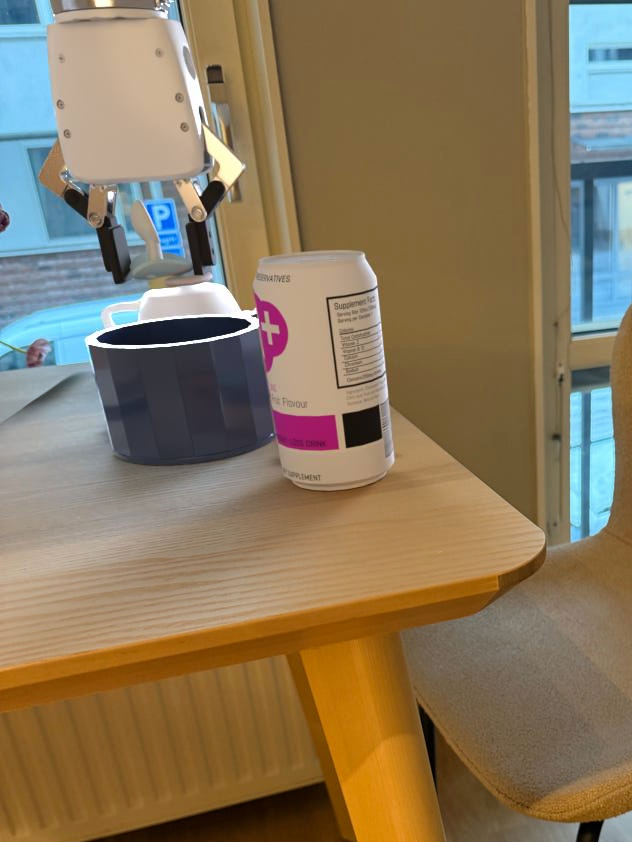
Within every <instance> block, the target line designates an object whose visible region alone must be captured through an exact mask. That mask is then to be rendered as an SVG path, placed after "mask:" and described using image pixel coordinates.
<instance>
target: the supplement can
mask: <svg viewBox="0 0 632 842" xmlns="http://www.w3.org/2000/svg"><path fill="white" fill-rule="evenodd" d="M257 261H258V267H257V271H256V273H255V277H254V280H253V282H252V289H253V290H252V291H253V297H254V303H255V308H256V310H257V316H258V323H259V329H260V335H261V342H262V348H263V354H264V360H265V367H266V373H267V379H268V386H269V392H270V398H271V404H272V411H273V417H274V423H275V429H276V442H277V447H278V453H279V460H280V468H281V471H282V476H283V477H285V478H287V479H289V480H291V482H292V484H293V485H296V486H297V487H299V488H301V489H305V490H311V491H327V492H330V491H331V492H332V491H343V490H344V491H345V490H349V489H350V490H351V489H355V488H360V487H365V486H367V485H370V484H372V483H375V482H377V481H379V480H381V479H382V478H384V477H385V476H386V474H387V472H388V470H389V469H391V468H392V467H393V465H394V463H395V452H394V441H393V432H392V431H393V430H392V422H391V420H392V419H391V411H390V401H389V391H388V382H387V381H388V380H387V371H386V369H387V368H386V360H385V359H386V358H385V351H384V339H383V338H384V337H383V330H382V319H381V308H380V299H379V289H378V278H377V276H376V274H375V272H374V270H373V269H372V267H371V265H370V264H369V262H368V260H367V259H366V254H365V252H363V251H361V250H354V249H353V250H352V249H350V250H349V249H332V250H331V249H329V250H328V249H327V250H311V251H310V250H309V251H300V252H290V253H289V252H288V253H282V254H276V255H275V254H274V255H269V256H265V257H262V258H260V259H258V260H257Z"/></svg>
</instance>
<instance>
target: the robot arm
mask: <svg viewBox="0 0 632 842" xmlns="http://www.w3.org/2000/svg"><path fill="white" fill-rule="evenodd" d="M172 2H175V0H49V3H50V6H51V12H52V16H53V20H54V23H49V24H47V25H46V50H47V61H48V62H47V63H48V73H49V74H48V75H49V83H50V91H51V98H52V106H53V111H54V118H55V123H56V129H57V134H58V135H57V137H56V140H55V141H54V143H53V145H52V147H51V149H50V151H49V152H48V154H47V156H46V159H45V160H44V162H43V164H42V166H41V168H40V170H39V172H38V174H37V180H38V182H39V183H40V184H41V186H43V187H45V188H46V189H48V190H49V191H50V192H51V193H53V194H54V195H56V196H57V197H58V198H60V199H62V200H63V201H64V202H65V203H66V204H67V205H68V206H69V207H70V208H72V209H73V210H74V211H75V212H77V214H79V215H80V216H81V217H82V218H83V219H85V220H86V221H87V223H88V225H90V226H91V227H92V228H94V229H95V231H96V235H97V239H98V244H99V248H100V252H101V253H100V254H101V257H102V261H103V266H104V269H105V271H106V272H107V273H111V274H112V279H113V283H114V284H115V285H123V284H126V283H128V282H130V281H132V280H133V279H135V278H134V277H133V274H132V272H131V270H130V264H131V261H132V260H131V255H130V251H129V245H128V241H127V236H126V232H125V228H124V226H123V225H122V224H121V223H118V219H117V217H116V207H117V206H116V205H117V197H118V184H133V183H148V182H149V183H150V182H163V181H164V182H165V181H166V182H167V181H172V182H173V184H174V186H175V188H176V190H177V192H178V195H179V196H180V198H181V200H182V202H183V204H184V206H185V208H186V210H187V212H188V213H187V217H188V221H187V223H186V224H185V233H186V238H187V244H188V248H189V254H190V259H191V260H190V261H191V262H192V264H193V270H194V275H202V276H204V275H205V274H206V273H208V272H210V273H211V274H212V275H213V269H212V267H214V266H216V265H217V255H216V254H217V253H216V248H215V243H214V238H213V231H212V225H211V220H210V219H211V218H213V216H214V214H215V212H216V210H217V208H218V207H219V206H220V204H221V203H222V202H223V200H225V197H226V196H227V195H228V193H229V192H230V190H231V189H232V188H233V187H234V186H235V184H236V183H237V181H239V179H240V178H241V177H242V175H243V174H244V173H245V171H246V168H247V167H246V166H247V165H246V163H245V162H244V160H243V159H242V158H241V157H240V156H239V155H237V153H236V152H235V151H234V150H233V149H232V148H231V147H230V146H229V145H228V144H227V143H226V142H225V141H223V139H222V138H220V136H219V135H218V134H217V133H216V132H215V131H214V130H213V129H211V127H210V126H209V121H208V118H207V116H208V115H207V112H206V108H205V103H204V99H203V94H202V90H201V87H200V82H199V78H198V73H197V70H196V67H195V63H194V59H193V56H192V53H191V49H190V47H189V46H190V45H189V44H188V40H187V36H186V34H185V31H184V28H183V26H182V23H181V21H178V20H176V19H171V18H168V13H170V9H169V8H170V6H171V3H172ZM215 161H216V162H217V163H218V166H219V169H218V172H217V173H216V175H215V176H214V177H213V178H212V180H211V181H210V182H209V183H208V184H207V185H206V187H205V188H203V186H202V183H201V182H200V180H199V178H198V177H201V176H205V175H207V174H208V173H210V172H211V171H212V170H213V169H214V167H215ZM67 172H68V174H69V175H70V176H71V178H73V179H74V180H75V181H77V182H79V183H83V184H87V185H89V190H88V192H87V191H85V190H84V189H82V188H80V187H78V186H77V185H76V184H74V182H72V181H71V180H70V179H69V178H68V176H67Z"/></svg>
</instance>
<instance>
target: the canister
mask: <svg viewBox="0 0 632 842" xmlns="http://www.w3.org/2000/svg"><path fill="white" fill-rule="evenodd" d="M84 343H85V346H86V350H87V355H88V358H89V362H90V367H91V370H92V374H93V378H94V382H95V386H96V390H97V391H96V392H97V394H98V398H99V402H100V406H101V411H102V415H103V419H104V424H105V427H106V431H107V434H108V439H109V442H110V443H109V444H110V445H111V448H112V451H113V454H114V455H115V457H116V458H118V459H119V460H121V461H124V462H127V463H131V464H137V465H146V466H149V465H150V466H178V465H179V466H180V465H191V464H197V463H198V464H201V463H205V462H212V461H217V460H222V459H226V458H231V457H236V456H239V455H242V454H247V453H249V452H251V451H254V450H257V449H259V448H262V447H263V446H266V445H268V444H269V443H270V442H272V441H273V440H274V439H276V438H277V436H276V429H275V423H274V417H273V411H272V404H271V398H270V392H269V386H268V379H267V373H266V367H265V360H264V354H263V348H262V342H261V335H260V329H259V323H258V319H256V318H253V317H246V316H238V315H200V316H184V317H173V318H164V319H156V320H148V321H142V322H138V321H137V322H132V323H127V324H121V325H116V327H113V328H109V329H103V330H100V331H96V332H94V333H93V334H91V335H89V336H87V337H85V338H84Z"/></svg>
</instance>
